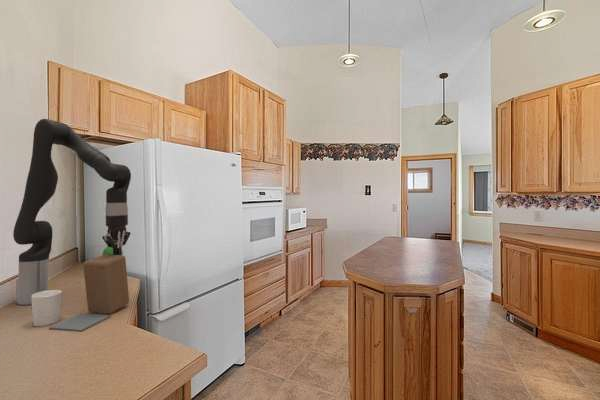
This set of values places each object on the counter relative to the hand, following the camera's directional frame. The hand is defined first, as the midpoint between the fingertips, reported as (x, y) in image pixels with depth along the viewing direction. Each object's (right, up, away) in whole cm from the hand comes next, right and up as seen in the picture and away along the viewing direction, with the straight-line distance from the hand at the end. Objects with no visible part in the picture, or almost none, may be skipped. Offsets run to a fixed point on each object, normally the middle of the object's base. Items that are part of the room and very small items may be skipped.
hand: (117, 257), depth 116 cm
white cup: (-14, -20, -16) cm, 29 cm away
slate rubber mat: (-2, -20, -16) cm, 26 cm away
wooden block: (-1, -19, -4) cm, 20 cm away
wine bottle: (-12, -20, +16) cm, 28 cm away
